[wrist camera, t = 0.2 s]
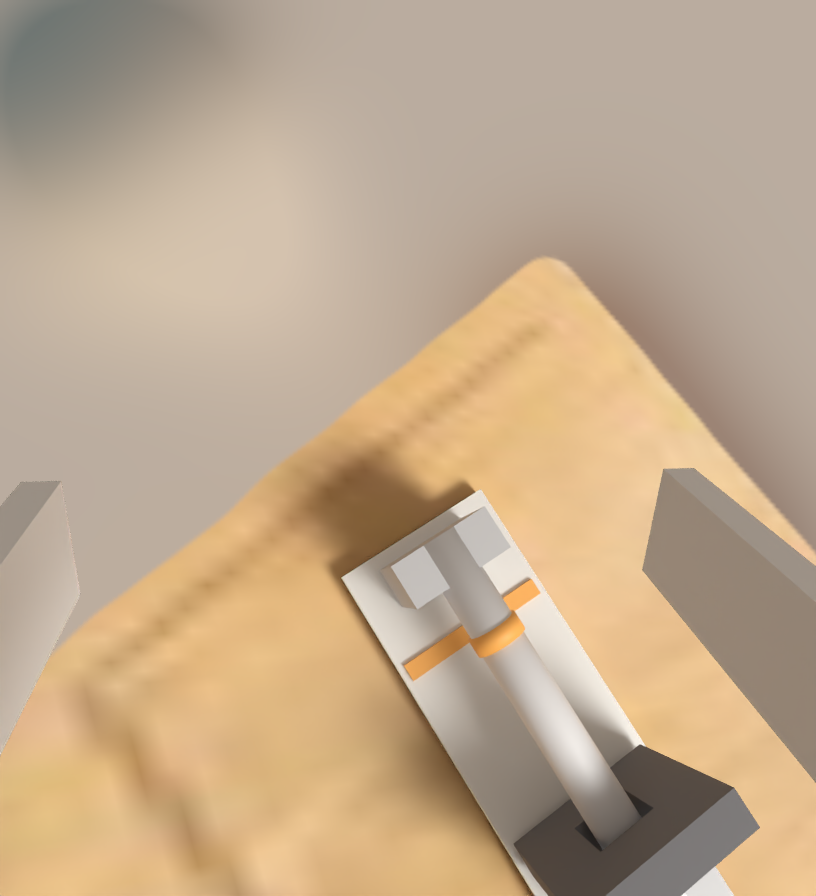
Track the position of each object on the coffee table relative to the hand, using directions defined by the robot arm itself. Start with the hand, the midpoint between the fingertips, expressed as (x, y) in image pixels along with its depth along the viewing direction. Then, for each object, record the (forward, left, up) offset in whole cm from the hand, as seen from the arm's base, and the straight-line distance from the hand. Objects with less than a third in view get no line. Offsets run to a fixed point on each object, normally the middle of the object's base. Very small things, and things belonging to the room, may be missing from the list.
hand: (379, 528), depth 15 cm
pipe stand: (-16, -6, -35) cm, 39 cm away
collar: (-23, -6, -33) cm, 41 cm away
